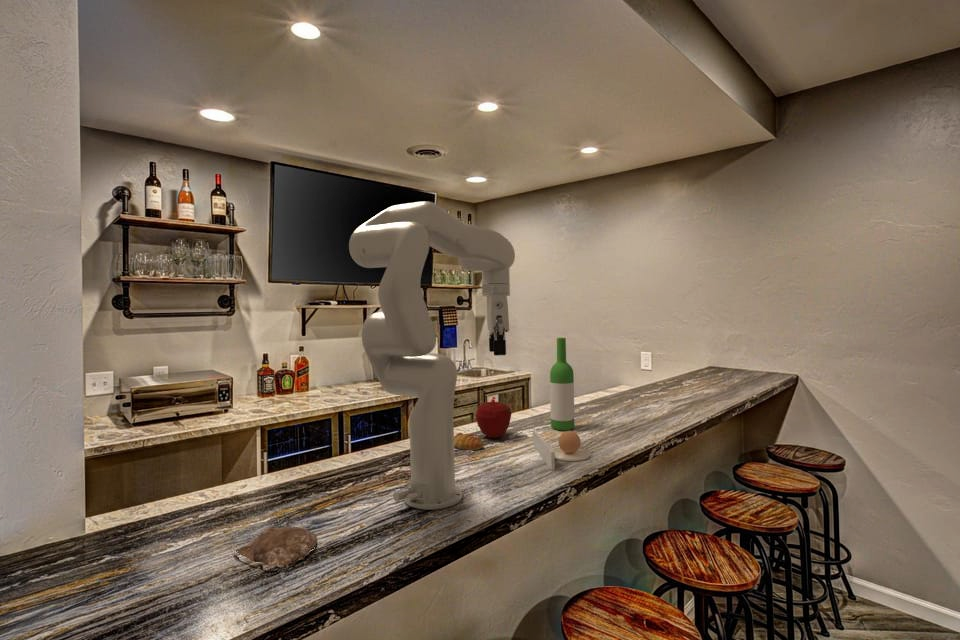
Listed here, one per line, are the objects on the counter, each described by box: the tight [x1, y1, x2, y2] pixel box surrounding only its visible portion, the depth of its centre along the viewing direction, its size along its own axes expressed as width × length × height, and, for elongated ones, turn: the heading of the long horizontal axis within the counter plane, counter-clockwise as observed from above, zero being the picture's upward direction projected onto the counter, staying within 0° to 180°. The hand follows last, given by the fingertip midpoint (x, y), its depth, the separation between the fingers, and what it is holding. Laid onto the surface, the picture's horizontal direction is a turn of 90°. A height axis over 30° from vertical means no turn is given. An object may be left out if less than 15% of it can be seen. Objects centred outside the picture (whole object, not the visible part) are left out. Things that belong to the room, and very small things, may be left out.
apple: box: [475, 400, 512, 439], centre depth 155 cm, size 11×11×12 cm
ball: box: [558, 430, 582, 453], centre depth 136 cm, size 6×6×6 cm
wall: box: [532, 429, 556, 471], centre depth 135 cm, size 22×1×4 cm, turn 6°
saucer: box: [551, 447, 591, 463], centre depth 136 cm, size 11×11×1 cm
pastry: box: [454, 432, 484, 451], centre depth 146 cm, size 9×7×4 cm
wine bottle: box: [549, 337, 575, 432], centre depth 164 cm, size 8×8×30 cm
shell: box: [235, 526, 319, 567], centre depth 87 cm, size 12×13×4 cm
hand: (497, 353), depth 136 cm, fingers open, 9 cm apart
